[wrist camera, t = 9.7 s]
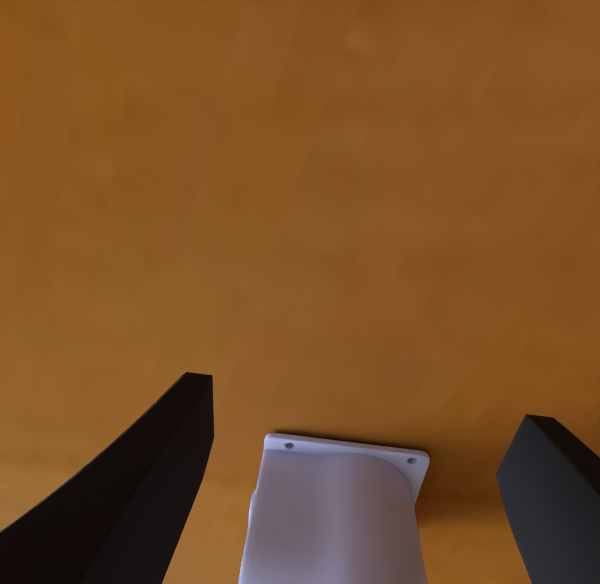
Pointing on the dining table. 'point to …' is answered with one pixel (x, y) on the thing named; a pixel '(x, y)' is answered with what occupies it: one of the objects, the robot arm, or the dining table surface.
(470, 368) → the dining table surface
